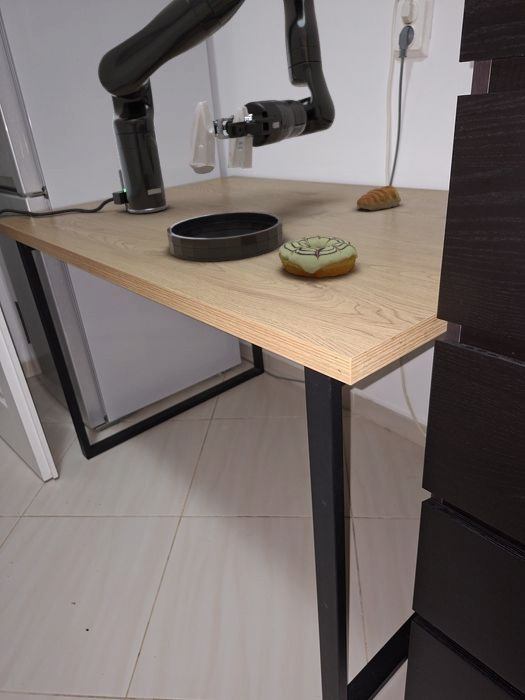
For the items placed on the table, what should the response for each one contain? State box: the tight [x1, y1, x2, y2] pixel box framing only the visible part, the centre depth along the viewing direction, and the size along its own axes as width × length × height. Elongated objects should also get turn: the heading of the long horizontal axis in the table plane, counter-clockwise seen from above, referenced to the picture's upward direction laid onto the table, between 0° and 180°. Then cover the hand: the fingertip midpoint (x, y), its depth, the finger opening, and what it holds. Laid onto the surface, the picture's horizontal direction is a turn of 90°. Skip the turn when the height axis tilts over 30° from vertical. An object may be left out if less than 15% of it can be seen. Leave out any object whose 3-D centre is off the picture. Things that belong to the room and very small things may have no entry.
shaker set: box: [188, 100, 253, 175], centre depth 83 cm, size 12×4×11 cm, turn 113°
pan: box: [166, 211, 284, 262], centre depth 85 cm, size 19×19×4 cm
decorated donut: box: [278, 235, 359, 279], centre depth 69 cm, size 10×11×4 cm
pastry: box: [356, 185, 402, 212], centre depth 103 cm, size 9×7×4 cm
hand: (211, 131), depth 81 cm, fingers closed on shaker set, 7 cm apart
